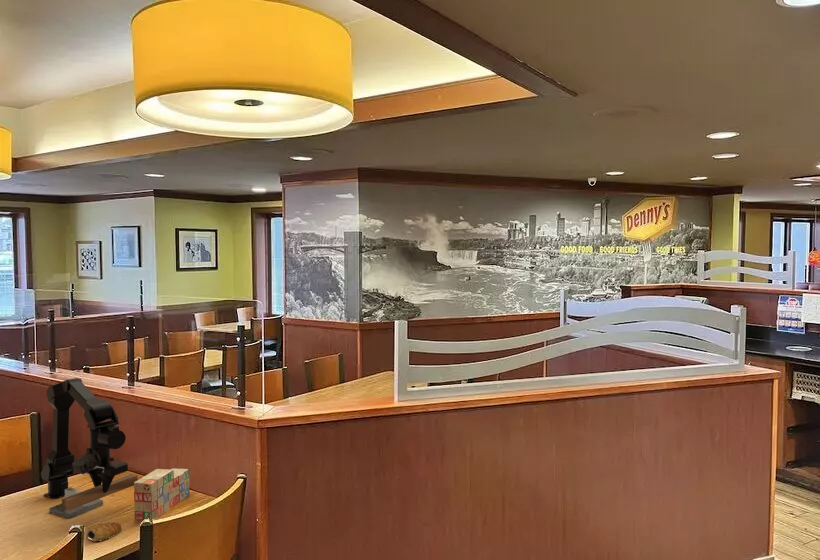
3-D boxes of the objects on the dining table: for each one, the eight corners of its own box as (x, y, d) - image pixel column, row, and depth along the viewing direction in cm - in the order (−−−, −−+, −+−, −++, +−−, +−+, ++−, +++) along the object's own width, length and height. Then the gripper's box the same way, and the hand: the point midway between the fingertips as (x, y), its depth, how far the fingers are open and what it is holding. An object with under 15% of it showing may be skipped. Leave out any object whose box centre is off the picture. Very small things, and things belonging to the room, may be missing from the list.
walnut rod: (62, 508, 188) (61, 498, 187) (131, 482, 209) (131, 473, 208) (68, 510, 186) (67, 500, 186) (137, 484, 207) (137, 475, 207)
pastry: (113, 527, 190) (113, 514, 190) (126, 532, 187) (126, 520, 186) (83, 539, 182) (83, 526, 182) (96, 545, 179) (96, 532, 178)
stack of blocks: (173, 494, 216) (172, 459, 215) (190, 495, 214) (189, 460, 214) (134, 520, 195) (133, 481, 194) (152, 522, 193) (151, 483, 193)
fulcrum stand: (49, 512, 200) (48, 494, 200) (83, 499, 211) (83, 482, 211) (69, 518, 196) (68, 500, 195) (103, 504, 206) (102, 486, 206)
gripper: (57, 446, 194) (58, 495, 194) (96, 454, 185) (98, 506, 186) (89, 436, 203) (91, 483, 204) (128, 444, 195) (130, 493, 196)
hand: (101, 491), depth 197 cm, fingers closed on walnut rod, 3 cm apart
